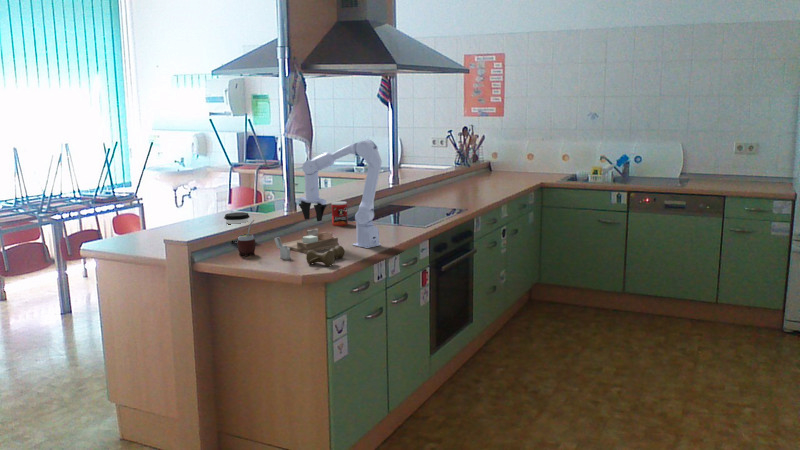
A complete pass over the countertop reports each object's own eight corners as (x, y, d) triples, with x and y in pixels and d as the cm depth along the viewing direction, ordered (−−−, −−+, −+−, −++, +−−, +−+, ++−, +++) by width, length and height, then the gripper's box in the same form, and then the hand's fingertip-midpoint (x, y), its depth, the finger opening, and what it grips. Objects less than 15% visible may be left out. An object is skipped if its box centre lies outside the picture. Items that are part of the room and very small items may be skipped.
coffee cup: (240, 237, 313) (239, 211, 311) (256, 240, 306) (254, 213, 304) (220, 241, 305) (218, 214, 303) (235, 244, 298) (234, 217, 296)
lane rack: (338, 246, 291) (338, 237, 290) (306, 253, 279) (305, 244, 278) (310, 240, 304) (310, 232, 303) (278, 246, 292) (277, 238, 291)
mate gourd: (239, 253, 281) (237, 216, 278) (259, 252, 282) (257, 216, 279) (236, 257, 274) (234, 220, 271) (256, 256, 274) (254, 219, 272)
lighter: (290, 258, 270) (289, 238, 269) (287, 259, 269) (286, 239, 268) (278, 256, 275) (277, 236, 273) (274, 257, 273) (273, 237, 272)
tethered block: (333, 243, 290) (332, 231, 289) (324, 245, 286) (323, 233, 285) (316, 240, 297) (315, 228, 296) (307, 241, 294) (306, 230, 293)
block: (318, 247, 284) (317, 236, 283) (309, 249, 281) (309, 238, 280) (311, 245, 287) (310, 235, 286) (302, 247, 284) (302, 236, 283)
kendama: (350, 259, 270) (321, 269, 252) (329, 258, 274) (300, 267, 257) (350, 244, 269) (320, 253, 251) (329, 243, 273) (299, 252, 256)
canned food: (333, 226, 336) (332, 204, 334) (330, 223, 344) (330, 201, 342) (349, 225, 338) (348, 203, 336) (346, 222, 346) (345, 200, 344)
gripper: (330, 188, 291) (331, 220, 294) (307, 186, 300) (308, 217, 303) (318, 190, 286) (319, 222, 288) (294, 187, 295) (296, 219, 297)
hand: (313, 220), depth 295 cm, fingers open, 7 cm apart
